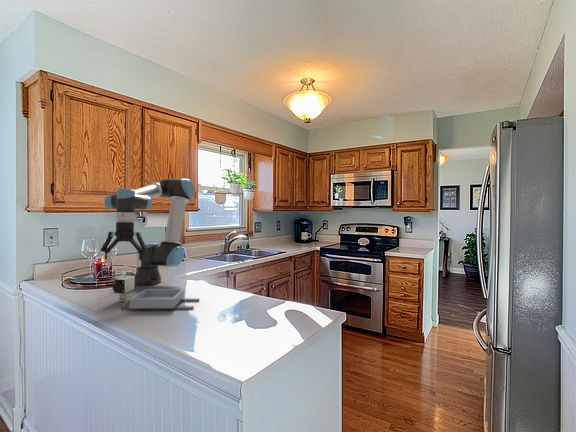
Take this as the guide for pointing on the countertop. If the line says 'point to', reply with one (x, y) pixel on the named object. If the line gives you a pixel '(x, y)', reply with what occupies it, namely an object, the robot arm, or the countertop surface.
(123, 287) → the pneumatic valve
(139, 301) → the shallow square tray
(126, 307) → the rails
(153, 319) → the countertop surface
